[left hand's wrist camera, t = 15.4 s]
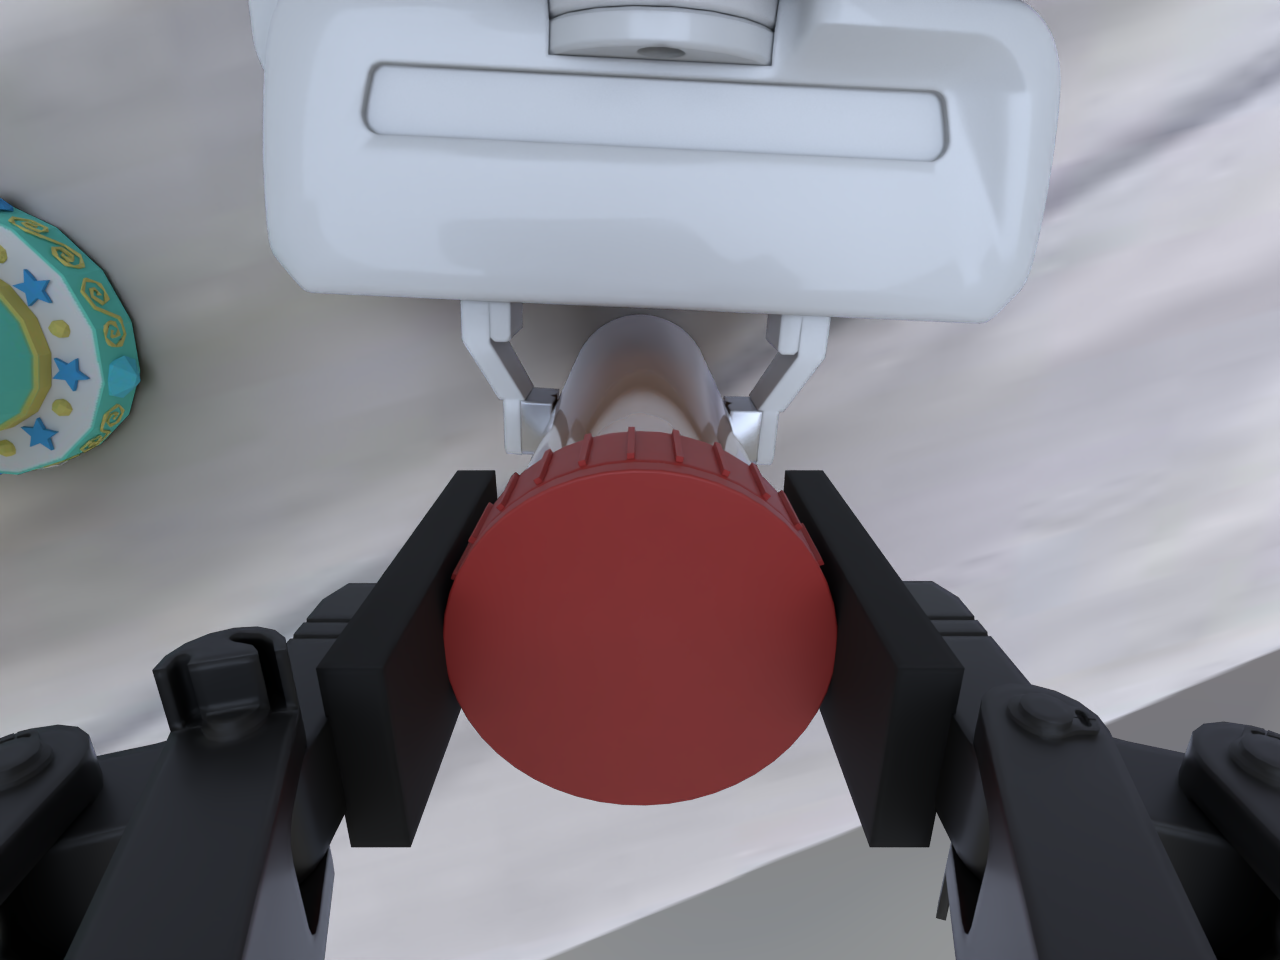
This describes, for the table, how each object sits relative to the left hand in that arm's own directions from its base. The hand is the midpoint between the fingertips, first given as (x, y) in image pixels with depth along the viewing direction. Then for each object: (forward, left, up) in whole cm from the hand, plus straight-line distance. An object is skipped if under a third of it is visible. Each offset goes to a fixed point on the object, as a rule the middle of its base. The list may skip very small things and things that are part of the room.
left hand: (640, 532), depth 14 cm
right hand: (+1, 0, -8) cm, 8 cm away
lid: (0, 0, +4) cm, 4 cm away
